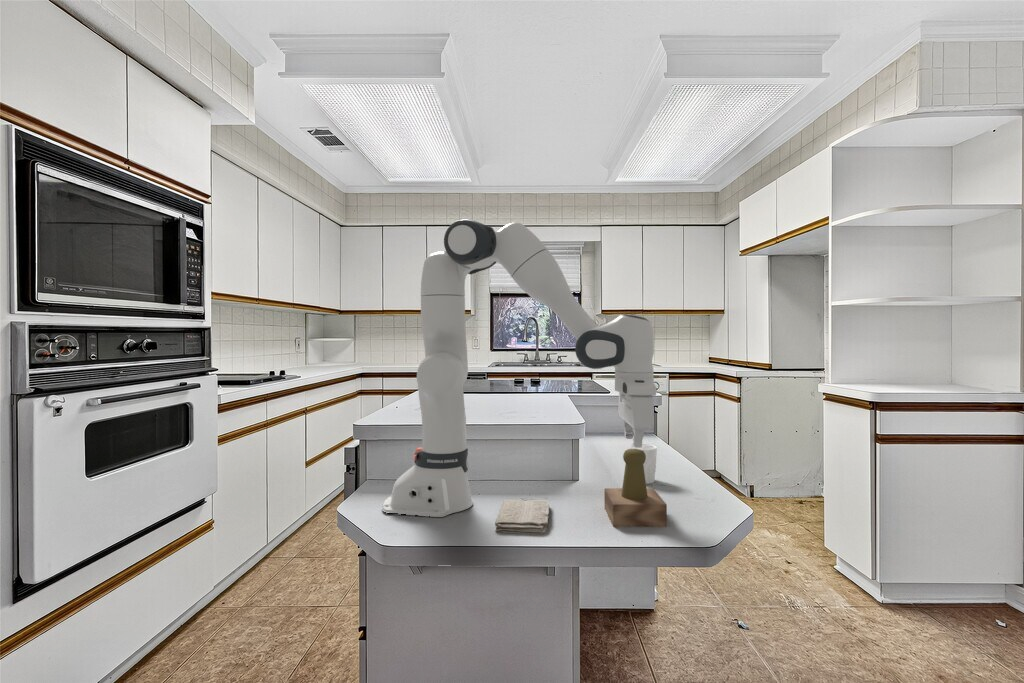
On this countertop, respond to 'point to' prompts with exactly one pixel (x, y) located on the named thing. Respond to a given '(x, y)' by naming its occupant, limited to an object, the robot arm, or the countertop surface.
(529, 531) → the washcloth
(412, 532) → the countertop surface
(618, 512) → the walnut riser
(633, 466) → the olive tapered upright piece
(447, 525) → the countertop surface
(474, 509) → the countertop surface
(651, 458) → the white cup
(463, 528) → the countertop surface
